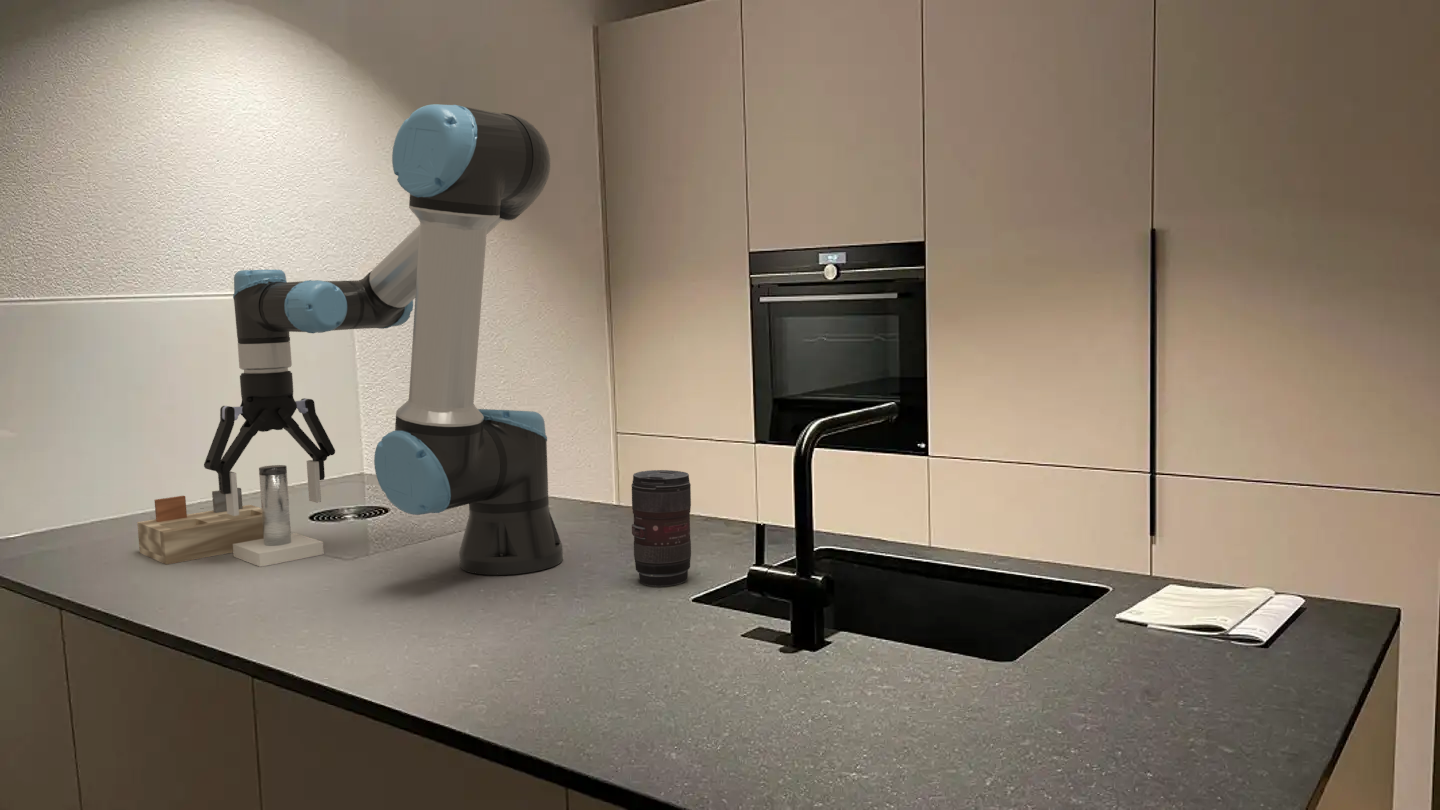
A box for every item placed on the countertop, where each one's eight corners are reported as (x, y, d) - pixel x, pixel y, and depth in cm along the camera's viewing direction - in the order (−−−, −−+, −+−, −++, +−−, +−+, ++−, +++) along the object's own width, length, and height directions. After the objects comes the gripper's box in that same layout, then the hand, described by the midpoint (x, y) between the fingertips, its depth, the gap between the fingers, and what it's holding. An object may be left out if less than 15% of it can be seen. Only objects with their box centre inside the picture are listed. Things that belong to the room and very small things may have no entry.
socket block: (281, 543, 184) (278, 492, 183) (166, 564, 171) (161, 510, 171) (251, 533, 193) (248, 484, 192) (139, 552, 180) (135, 500, 179)
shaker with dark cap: (295, 542, 175) (290, 466, 174) (270, 546, 173) (265, 469, 171) (284, 538, 178) (279, 464, 177) (259, 543, 175) (254, 467, 174)
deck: (323, 554, 176) (322, 541, 175) (260, 566, 169) (259, 553, 168) (295, 545, 183) (294, 533, 182) (233, 556, 176) (232, 544, 175)
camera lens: (685, 589, 150) (682, 478, 149) (627, 587, 152) (623, 478, 150) (699, 573, 158) (696, 468, 156) (643, 572, 160) (640, 468, 158)
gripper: (330, 364, 184) (338, 493, 186) (173, 375, 167) (184, 517, 169) (351, 365, 178) (359, 498, 181) (192, 377, 161) (203, 524, 164)
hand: (275, 507), depth 175 cm, fingers open, 12 cm apart
